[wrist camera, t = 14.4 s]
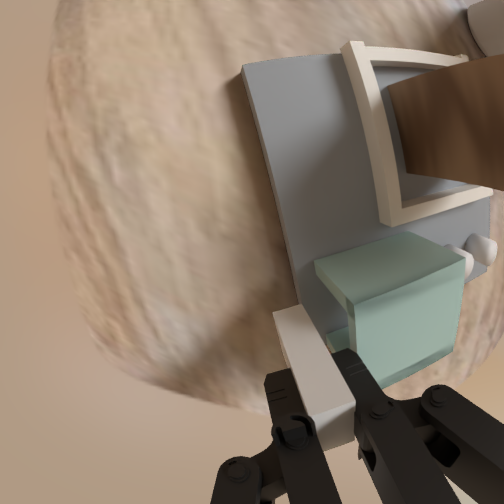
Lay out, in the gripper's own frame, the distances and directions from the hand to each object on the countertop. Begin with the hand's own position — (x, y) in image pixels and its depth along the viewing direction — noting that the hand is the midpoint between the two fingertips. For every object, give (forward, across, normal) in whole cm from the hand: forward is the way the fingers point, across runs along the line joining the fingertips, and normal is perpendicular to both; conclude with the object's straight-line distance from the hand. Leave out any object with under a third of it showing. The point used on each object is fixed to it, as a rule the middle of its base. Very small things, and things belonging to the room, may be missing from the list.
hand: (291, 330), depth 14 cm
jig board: (+3, +9, +5) cm, 11 cm away
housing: (+1, +5, 0) cm, 5 cm away
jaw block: (+1, +11, +9) cm, 14 cm away
